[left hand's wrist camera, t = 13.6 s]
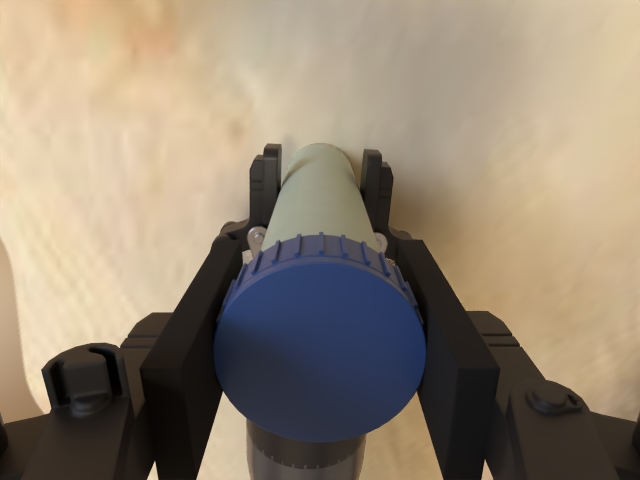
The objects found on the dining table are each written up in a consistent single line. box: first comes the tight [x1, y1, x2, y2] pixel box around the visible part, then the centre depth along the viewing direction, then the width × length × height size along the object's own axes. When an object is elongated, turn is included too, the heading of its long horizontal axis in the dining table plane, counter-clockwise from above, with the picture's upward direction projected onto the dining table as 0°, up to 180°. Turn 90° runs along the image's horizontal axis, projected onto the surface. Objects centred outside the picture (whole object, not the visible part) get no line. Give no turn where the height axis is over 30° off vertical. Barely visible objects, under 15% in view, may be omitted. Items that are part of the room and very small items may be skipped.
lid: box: [213, 232, 427, 442], centre depth 11 cm, size 5×5×2 cm
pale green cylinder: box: [261, 143, 380, 253], centre depth 20 cm, size 4×4×19 cm
